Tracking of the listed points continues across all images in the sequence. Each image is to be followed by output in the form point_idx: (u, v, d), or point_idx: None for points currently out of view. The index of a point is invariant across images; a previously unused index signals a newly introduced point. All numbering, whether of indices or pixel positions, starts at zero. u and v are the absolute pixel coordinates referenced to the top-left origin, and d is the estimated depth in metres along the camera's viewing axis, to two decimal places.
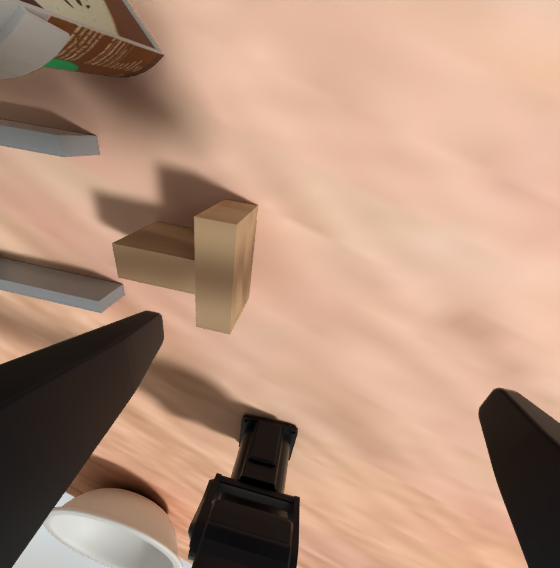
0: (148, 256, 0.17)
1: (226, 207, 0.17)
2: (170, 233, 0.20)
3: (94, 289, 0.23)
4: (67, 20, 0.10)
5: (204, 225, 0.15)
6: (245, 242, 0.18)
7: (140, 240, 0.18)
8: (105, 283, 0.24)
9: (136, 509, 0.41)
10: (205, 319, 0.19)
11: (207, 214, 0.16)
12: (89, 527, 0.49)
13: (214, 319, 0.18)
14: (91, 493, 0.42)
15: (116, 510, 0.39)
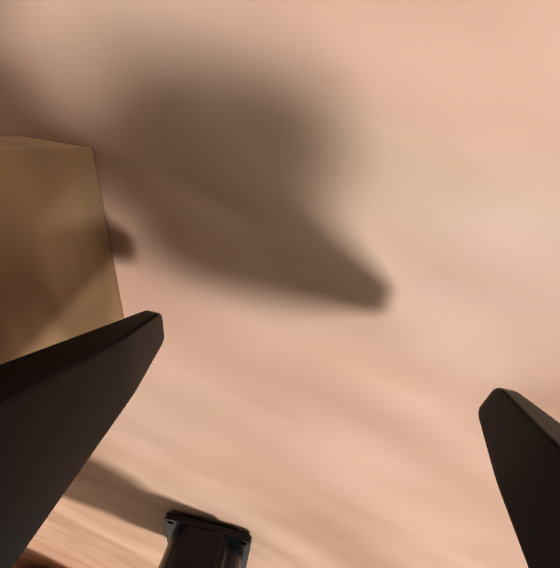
0: None
1: None
2: None
3: None
4: None
5: None
6: (24, 231, 0.07)
7: None
8: None
9: None
10: None
11: None
12: None
13: None
14: None
15: None
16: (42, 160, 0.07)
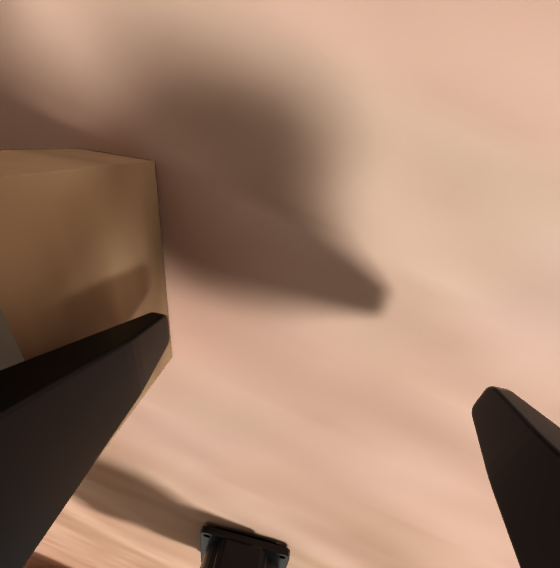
0: None
1: (40, 155, 0.06)
2: None
3: None
4: None
5: None
6: (97, 251, 0.06)
7: None
8: None
9: None
10: None
11: None
12: None
13: None
14: None
15: None
16: (115, 177, 0.07)
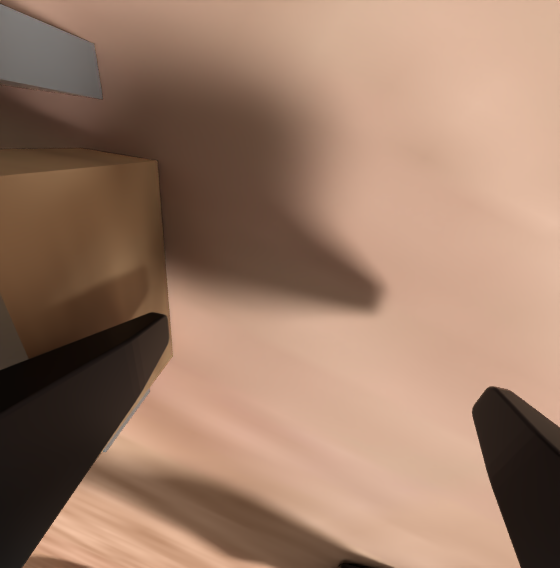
0: None
1: (44, 154, 0.06)
2: None
3: None
4: None
5: None
6: (101, 250, 0.07)
7: None
8: None
9: None
10: None
11: None
12: None
13: None
14: None
15: None
16: (119, 176, 0.07)
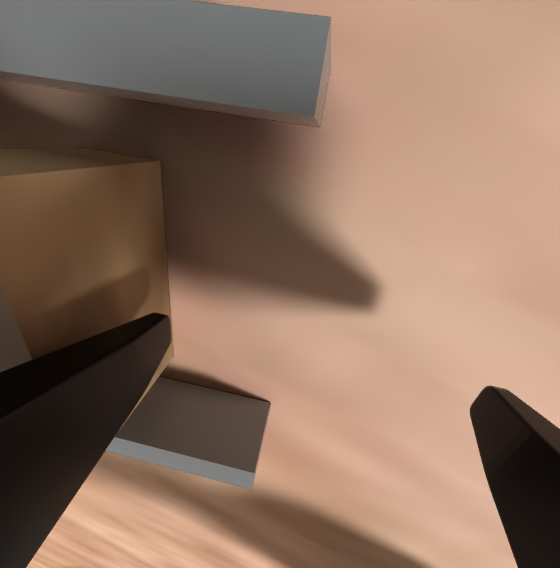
0: None
1: (48, 153, 0.06)
2: None
3: (227, 427, 0.11)
4: None
5: None
6: (104, 250, 0.07)
7: None
8: (238, 403, 0.12)
9: None
10: None
11: None
12: None
13: None
14: None
15: None
16: (122, 176, 0.07)
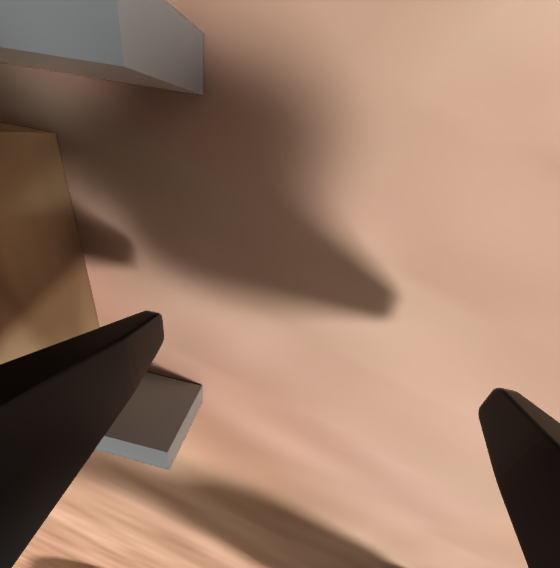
0: None
1: None
2: None
3: (150, 408, 0.11)
4: None
5: None
6: None
7: None
8: (168, 386, 0.12)
9: None
10: None
11: None
12: None
13: None
14: None
15: None
16: None
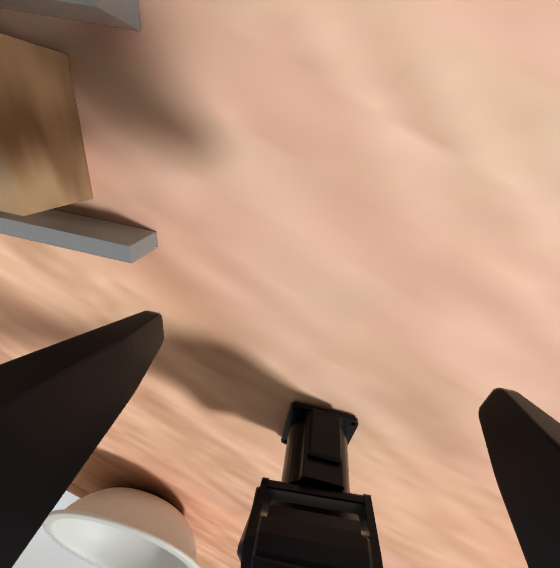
0: None
1: None
2: None
3: (122, 234, 0.18)
4: None
5: None
6: (29, 87, 0.14)
7: None
8: (134, 229, 0.19)
9: (153, 512, 0.36)
10: None
11: None
12: (95, 530, 0.43)
13: None
14: (100, 493, 0.37)
15: (130, 513, 0.34)
16: (39, 52, 0.14)
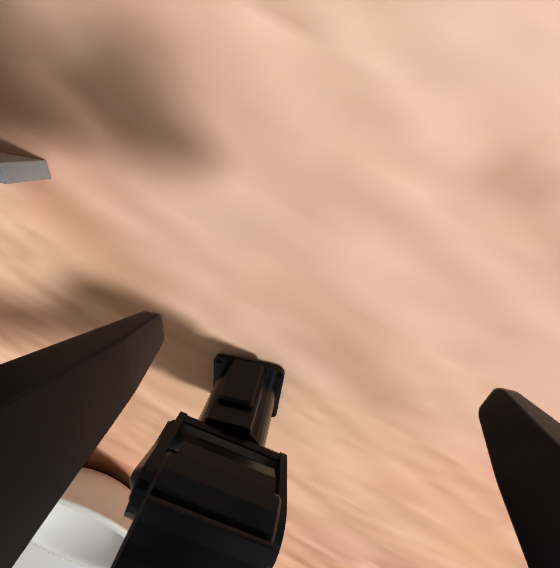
0: None
1: None
2: None
3: (1, 158, 0.17)
4: None
5: None
6: None
7: None
8: (21, 157, 0.18)
9: (97, 488, 0.34)
10: None
11: None
12: (49, 515, 0.42)
13: None
14: None
15: (70, 488, 0.33)
16: None
